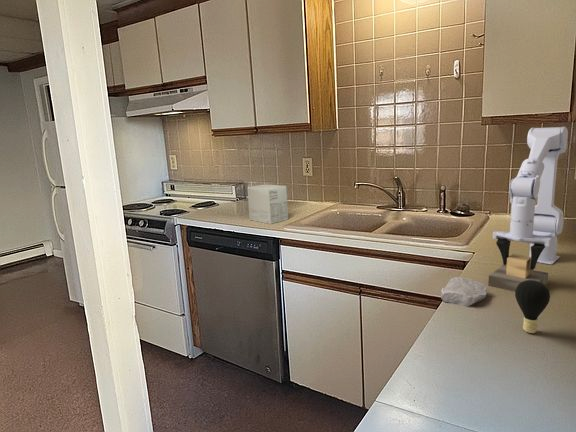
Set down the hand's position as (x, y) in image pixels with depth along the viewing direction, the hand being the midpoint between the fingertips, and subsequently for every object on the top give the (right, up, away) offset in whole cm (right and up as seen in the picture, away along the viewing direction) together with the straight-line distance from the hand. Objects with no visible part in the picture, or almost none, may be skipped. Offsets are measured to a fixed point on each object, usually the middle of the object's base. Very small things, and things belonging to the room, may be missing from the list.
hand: (519, 266), depth 120 cm
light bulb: (-12, -12, -26) cm, 31 cm away
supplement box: (-76, +12, +103) cm, 128 cm away
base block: (0, -5, +1) cm, 5 cm away
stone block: (-18, -8, -6) cm, 21 cm away
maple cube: (0, -2, +1) cm, 2 cm away
